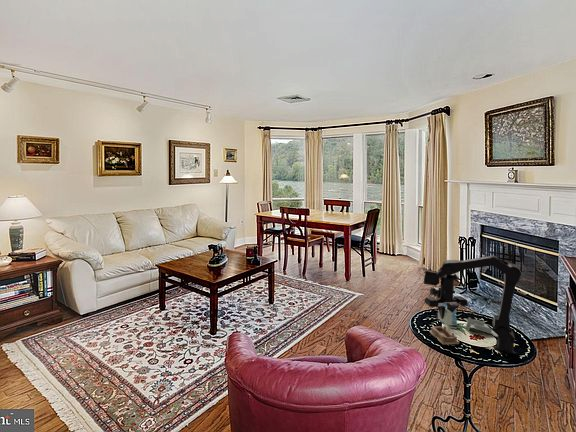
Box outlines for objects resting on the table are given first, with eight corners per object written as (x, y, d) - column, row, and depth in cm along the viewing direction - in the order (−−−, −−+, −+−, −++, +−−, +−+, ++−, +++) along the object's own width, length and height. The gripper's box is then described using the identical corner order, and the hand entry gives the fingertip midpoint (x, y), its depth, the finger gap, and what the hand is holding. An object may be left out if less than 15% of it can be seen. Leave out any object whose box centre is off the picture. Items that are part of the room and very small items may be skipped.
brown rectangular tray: (459, 343, 161) (459, 335, 160) (442, 344, 160) (443, 335, 160) (445, 331, 173) (445, 323, 172) (429, 332, 172) (430, 324, 171)
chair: (458, 324, 181) (460, 302, 180) (441, 322, 183) (443, 301, 182) (454, 318, 189) (456, 297, 187) (438, 316, 191) (440, 296, 189)
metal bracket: (475, 325, 168) (462, 313, 182) (470, 336, 169) (458, 323, 183) (504, 335, 167) (488, 321, 182) (499, 345, 168) (484, 331, 183)
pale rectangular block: (451, 324, 161) (452, 312, 161) (446, 325, 161) (447, 312, 160) (442, 317, 170) (443, 305, 169) (437, 317, 169) (438, 305, 168)
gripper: (455, 281, 172) (453, 311, 174) (420, 282, 170) (418, 312, 172) (469, 289, 161) (466, 320, 163) (431, 289, 159) (429, 322, 161)
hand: (444, 318), depth 165 cm, fingers closed on pale rectangular block, 2 cm apart
